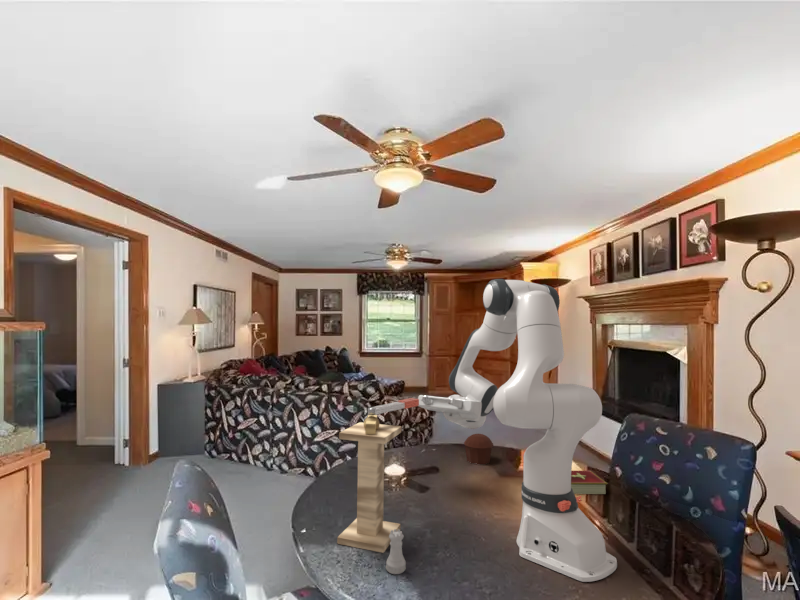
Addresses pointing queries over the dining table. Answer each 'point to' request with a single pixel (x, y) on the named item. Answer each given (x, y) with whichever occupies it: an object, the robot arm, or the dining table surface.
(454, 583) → the dining table surface
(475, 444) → the muffin
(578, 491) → the hardcover book
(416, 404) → the valve lever
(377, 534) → the stand
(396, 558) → the rook chess piece
